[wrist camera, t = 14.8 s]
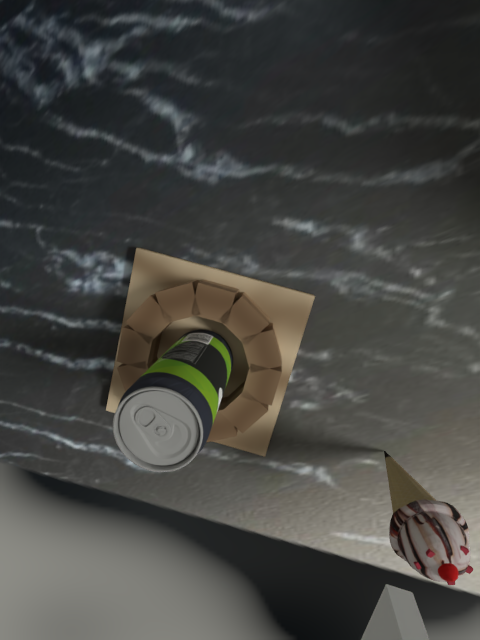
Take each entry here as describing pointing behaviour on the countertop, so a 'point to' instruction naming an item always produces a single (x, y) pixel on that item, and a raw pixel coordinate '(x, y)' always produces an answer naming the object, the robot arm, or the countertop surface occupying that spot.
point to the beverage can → (174, 403)
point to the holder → (224, 319)
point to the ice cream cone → (426, 529)
